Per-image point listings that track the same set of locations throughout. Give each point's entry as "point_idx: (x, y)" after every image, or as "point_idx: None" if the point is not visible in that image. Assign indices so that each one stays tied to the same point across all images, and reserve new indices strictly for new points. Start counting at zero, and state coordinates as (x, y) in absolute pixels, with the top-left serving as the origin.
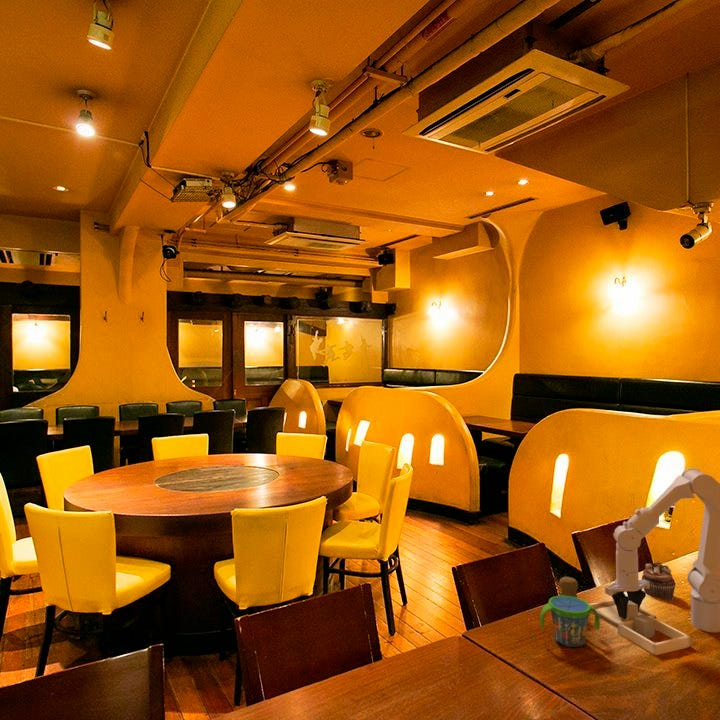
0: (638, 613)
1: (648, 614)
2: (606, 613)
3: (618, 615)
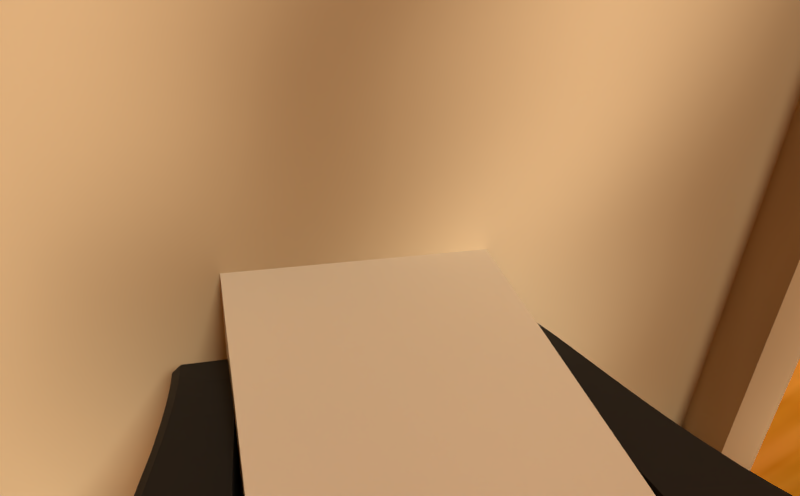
0: (702, 249)
1: (725, 413)
2: (46, 43)
3: (225, 295)
